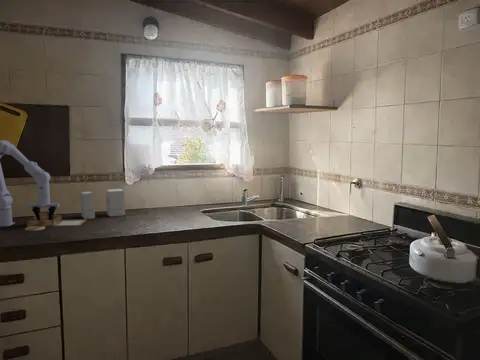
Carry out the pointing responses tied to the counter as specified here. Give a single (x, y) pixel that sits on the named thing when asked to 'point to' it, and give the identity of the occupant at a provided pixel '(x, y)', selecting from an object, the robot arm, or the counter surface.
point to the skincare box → (87, 205)
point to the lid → (70, 223)
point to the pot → (44, 215)
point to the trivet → (34, 228)
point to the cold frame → (44, 221)
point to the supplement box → (115, 202)
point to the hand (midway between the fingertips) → (44, 220)
